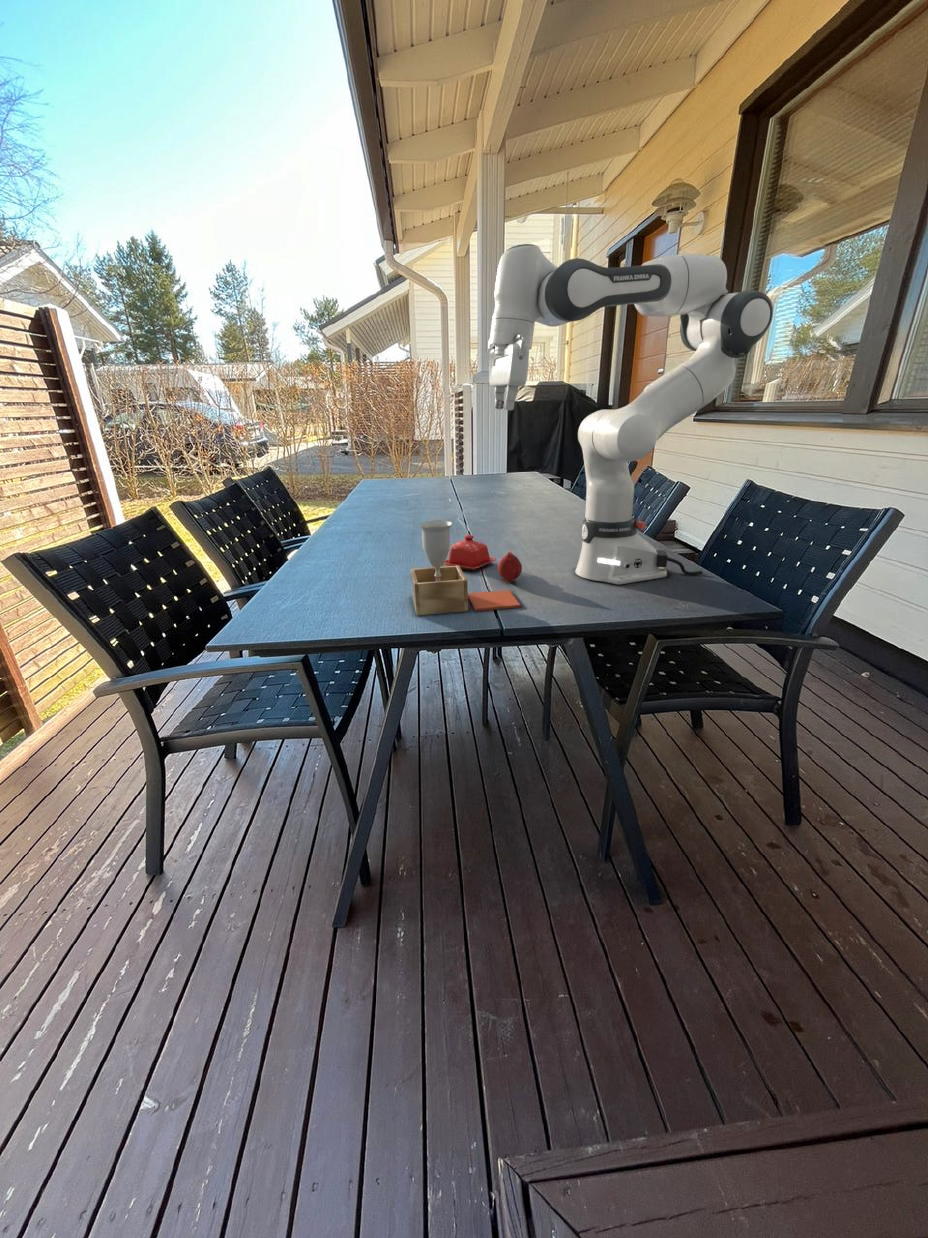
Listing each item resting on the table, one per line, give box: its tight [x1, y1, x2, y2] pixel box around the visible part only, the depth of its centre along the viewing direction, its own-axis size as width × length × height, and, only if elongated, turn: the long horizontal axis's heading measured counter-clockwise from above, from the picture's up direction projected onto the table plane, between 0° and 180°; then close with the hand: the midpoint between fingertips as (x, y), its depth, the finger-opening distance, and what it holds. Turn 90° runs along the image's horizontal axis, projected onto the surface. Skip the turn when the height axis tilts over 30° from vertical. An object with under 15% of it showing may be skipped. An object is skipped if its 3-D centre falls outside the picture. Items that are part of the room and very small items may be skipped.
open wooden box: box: [410, 565, 469, 616], centre depth 115 cm, size 11×11×7 cm
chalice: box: [419, 519, 452, 581], centre depth 113 cm, size 7×7×18 cm
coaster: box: [468, 589, 521, 612], centre depth 117 cm, size 10×10×1 cm
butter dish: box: [444, 534, 497, 571], centre depth 142 cm, size 12×12×8 cm
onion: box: [497, 550, 523, 584], centre depth 128 cm, size 6×6×8 cm
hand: (503, 409), depth 114 cm, fingers open, 8 cm apart
